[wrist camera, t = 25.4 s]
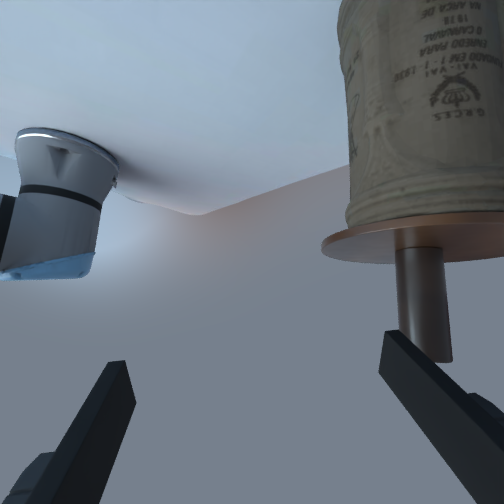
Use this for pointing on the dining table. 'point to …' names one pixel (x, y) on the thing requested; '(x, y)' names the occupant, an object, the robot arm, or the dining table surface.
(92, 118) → the dining table surface
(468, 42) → the beer stein
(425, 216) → the lid
